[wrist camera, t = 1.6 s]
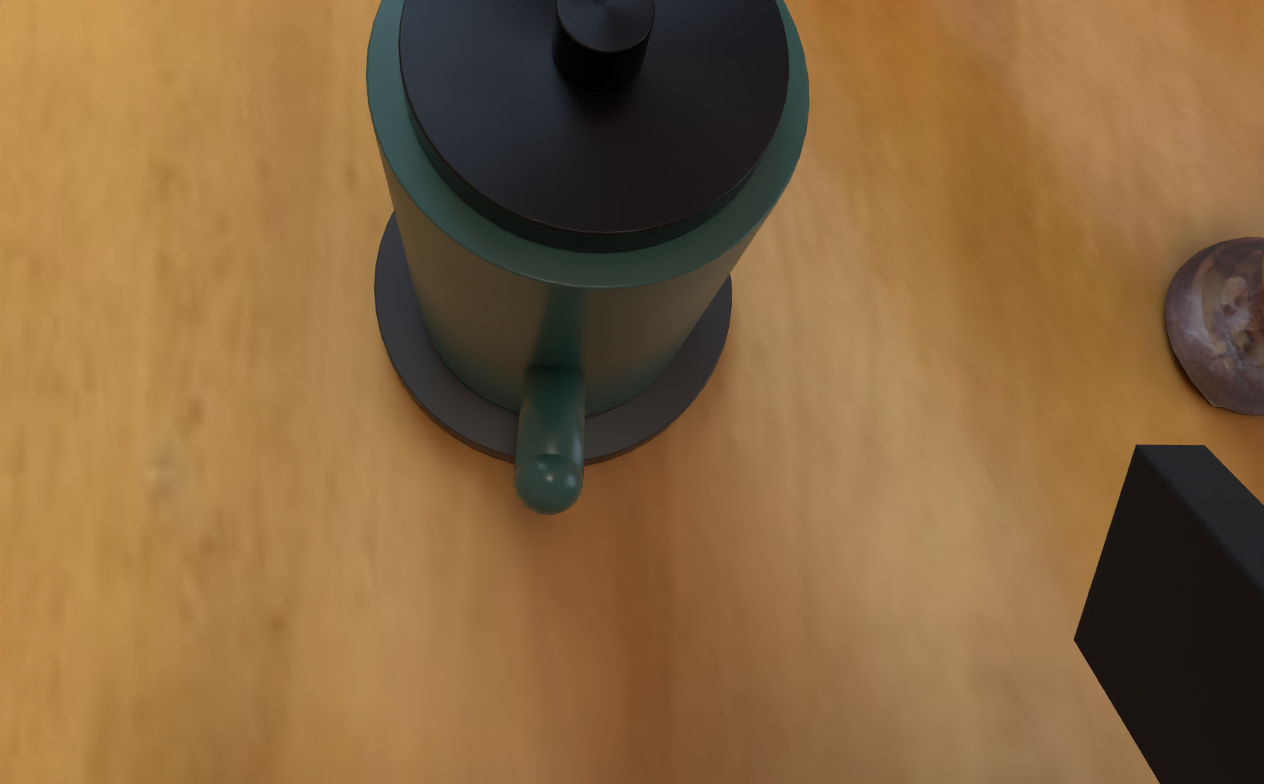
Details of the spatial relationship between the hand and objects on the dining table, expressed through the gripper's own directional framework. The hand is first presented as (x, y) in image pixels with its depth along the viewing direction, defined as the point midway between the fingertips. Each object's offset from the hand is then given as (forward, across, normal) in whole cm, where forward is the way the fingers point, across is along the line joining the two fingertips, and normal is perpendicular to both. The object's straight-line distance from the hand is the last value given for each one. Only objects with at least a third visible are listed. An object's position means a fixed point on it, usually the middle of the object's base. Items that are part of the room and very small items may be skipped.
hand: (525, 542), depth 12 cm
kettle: (+26, 0, +8) cm, 28 cm away
